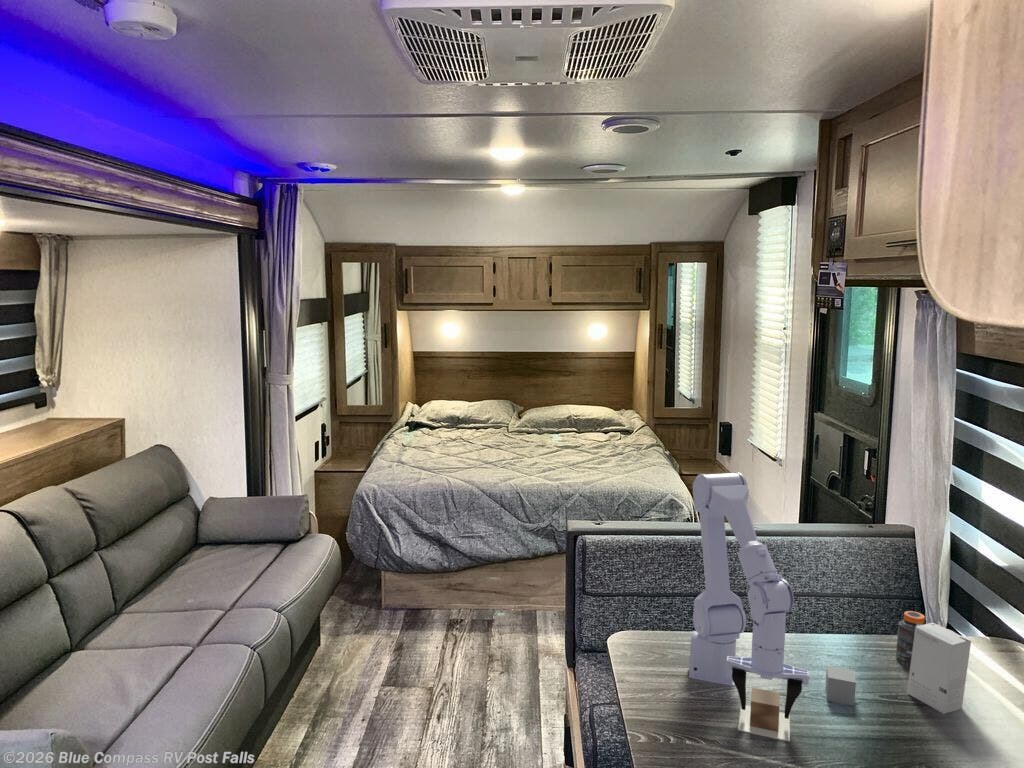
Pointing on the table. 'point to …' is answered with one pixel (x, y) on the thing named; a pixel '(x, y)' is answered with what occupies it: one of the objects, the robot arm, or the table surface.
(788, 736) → the white square plate
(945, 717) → the table surface
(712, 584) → the robot arm
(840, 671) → the slate block
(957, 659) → the skincare box
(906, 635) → the pill bottle
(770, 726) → the walnut block
